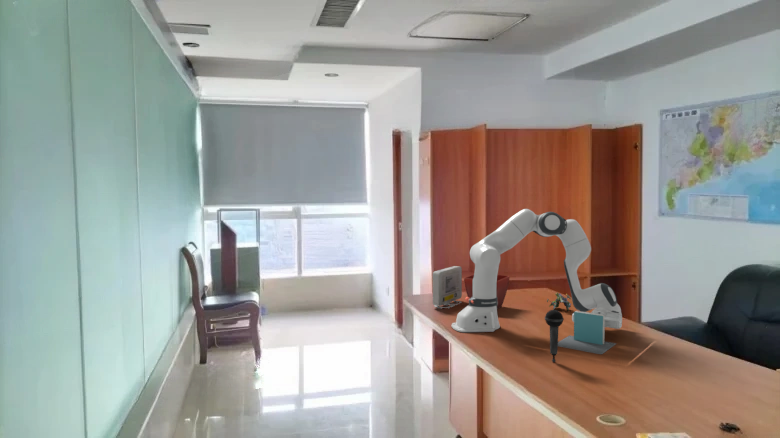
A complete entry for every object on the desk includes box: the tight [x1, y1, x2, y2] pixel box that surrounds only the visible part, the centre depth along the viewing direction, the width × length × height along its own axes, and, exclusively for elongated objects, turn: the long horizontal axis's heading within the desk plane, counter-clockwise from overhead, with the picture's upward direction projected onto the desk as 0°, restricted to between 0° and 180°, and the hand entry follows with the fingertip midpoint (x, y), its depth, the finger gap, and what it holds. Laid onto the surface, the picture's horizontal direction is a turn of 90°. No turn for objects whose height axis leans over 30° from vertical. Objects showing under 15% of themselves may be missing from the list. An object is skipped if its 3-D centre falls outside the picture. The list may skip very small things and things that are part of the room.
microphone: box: [544, 309, 565, 363], centre depth 209 cm, size 7×7×20 cm
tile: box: [573, 310, 606, 345], centre depth 233 cm, size 2×12×12 cm, turn 51°
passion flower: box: [546, 292, 572, 312], centre depth 292 cm, size 11×11×12 cm
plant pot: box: [463, 273, 511, 310], centre depth 299 cm, size 19×19×17 cm
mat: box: [558, 334, 617, 355], centre depth 230 cm, size 18×20×1 cm
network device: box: [432, 265, 463, 309], centre depth 307 cm, size 26×9×20 cm, turn 144°
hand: (590, 323), depth 234 cm, fingers closed
